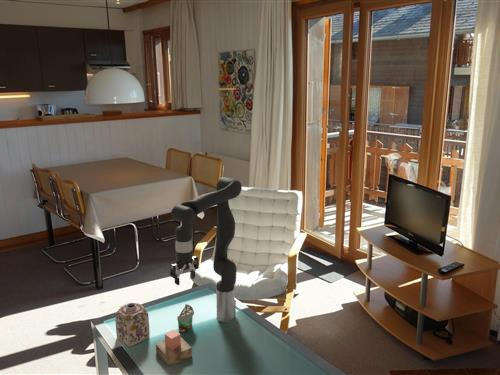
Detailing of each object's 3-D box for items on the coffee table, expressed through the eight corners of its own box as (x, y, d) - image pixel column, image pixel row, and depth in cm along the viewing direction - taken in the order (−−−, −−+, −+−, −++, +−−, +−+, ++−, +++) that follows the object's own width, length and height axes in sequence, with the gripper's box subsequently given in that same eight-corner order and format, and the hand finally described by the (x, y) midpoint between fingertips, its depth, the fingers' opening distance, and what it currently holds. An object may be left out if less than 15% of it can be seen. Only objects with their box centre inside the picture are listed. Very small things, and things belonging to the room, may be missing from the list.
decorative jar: (150, 337, 217) (148, 304, 212) (129, 348, 209) (127, 314, 204) (136, 327, 225) (134, 295, 220) (116, 337, 217) (113, 305, 212)
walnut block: (179, 343, 213) (179, 334, 212) (191, 356, 204) (191, 347, 203) (156, 353, 206) (155, 343, 205) (168, 367, 197) (167, 357, 196)
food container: (189, 336, 219) (189, 318, 216) (177, 334, 220) (177, 316, 217) (197, 322, 230) (197, 304, 227) (186, 320, 231) (185, 303, 228)
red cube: (174, 340, 207) (173, 329, 206) (180, 345, 204) (180, 334, 202) (165, 345, 204) (164, 334, 202) (172, 350, 201) (171, 338, 199)
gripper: (191, 241, 206) (192, 273, 211) (165, 250, 197) (167, 283, 201) (201, 246, 201) (202, 279, 206) (175, 256, 191) (177, 289, 196)
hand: (185, 281), depth 203 cm, fingers open, 8 cm apart
